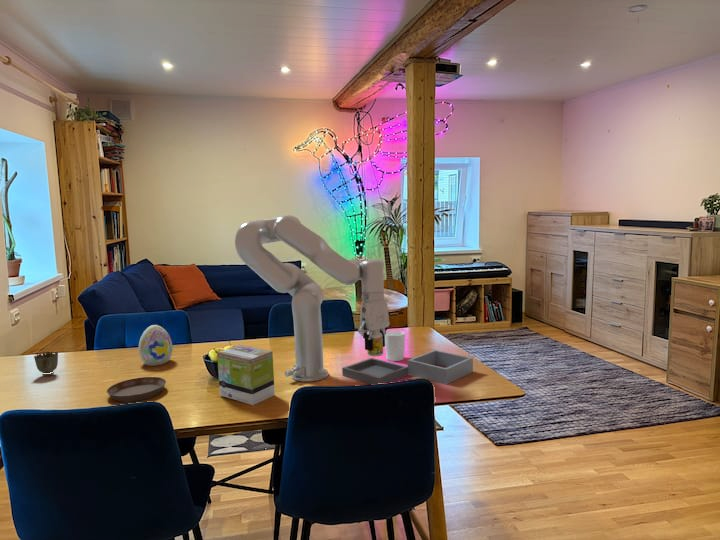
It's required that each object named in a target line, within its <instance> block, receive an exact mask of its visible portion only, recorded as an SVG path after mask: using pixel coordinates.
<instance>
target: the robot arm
mask: <svg viewBox="0 0 720 540" xmlns="http://www.w3.org/2000/svg"><path fill="white" fill-rule="evenodd" d="M234 237H235V239H234V245H235V246H234V247H235V250H236V253H237V255H238V257H239V258H240V259H241V261H242V262H243V263H244V264H245V265H246V266H248V268H250V269H251V270H252V271H253V272H254V273H255V274H257V275H258V276H259V277H260V278H261V279H262V280H263V281H264V282H265V283H267V284H268V285H269V286H270V287H271V288H272V289H273V290H275V291H276V292H277V293H281V294H286V293H288V294H289V295H290V296H291V297H292V298H291V299H292V300H291V310H292V317H293V318H292V319H293V331H294V332H293V333H294V351H295V355H294V356H295V364H293V365H292V366H293V368H291V369H288V370H285V371H284V376H285V377H286V378H287V377H291V378H292V379H293V380H295V381H298V382H304V383H305V382H306V383H307V382H308V383H309V382H311V383H312V382H316V381H321V380H324V379H326V378H327V377H328V376H329V371H328V370H327V368H324V348H323V346H324V345H323V327H322V325H323V324H322V322H323V321H322V312H321V309H322V308H321V304H322V303H323V300H324V297H325V296H324V291H323V289H322V287H321V286H320V285H319V284H318V283H317V282H316V281H315V280H314V279H312V278H311V277H310V276H309V275H308V274H307V273H306V272H304V271H303V270H302V269H301V268H300V267H299V266H297V265H295V264H294V263H289V262H282V261H281V260H279V259H278V258H277V257H276V256H275V255H274V254H273V253H271V252H270V251H269V250H268V249H266V248H265V247H264V246H263V245H264V244H270V243H277V242H283V243H284V244H286V245H287V246H289V247H291V248H292V249H293V250H294V251H296V252H297V253H299V254H301V255H302V256H304V257H305V258H306V259H308V260H309V261H310V262H311V263H313V264H314V265H315V266H316V267H318V268H319V269H320V270H322V271H323V272H324V273H325V274H327V275H328V276H330V277H332V278H333V279H335V281H337V282H339V283H341V284H343V285H346V286H351V285H354V284H355V283H357V281H359V280H360V281H361V296H360V298H361V305H360V315H359V316H360V325H359V327H358V329H357V332H358V334H360V335H361V337H362V339H364V349H365V350H366V351H368V350H369V351H373V339H371V337H372V332H373V331H377V330H380V333H382V337H383V348H385V335H386V332H387V330H388V328H389V326H390V324H391V322H390V319H389V318H390V316H389V315H390V314H389V308H388V307H389V306H388V301H387V300H386V298H385V281H384V280H385V279H384V262H383V261H382V260H380V259H367V260H359V259H347V258H346V257H343V256H342V255H340V254H339V253H338V252H337V251H335V250H334V249H333V248H332V247H331V246H330V245H329V244H328V242H327V241H326V240H325V239H324V238H323V237H322V236H320V235H319V234H317V233H316V232H315V231H313V230H312V229H310V228H309V227H307V226H306V225H304V224H302V222H301V221H300V220H299V218H298V217H296V216H294V215H290V214H289V215H288V214H287V215H282V216H278V217H273V218H267V219H258V220H257V219H256V220H252V221H247V222H244V223H242V224H241V225H240V226H239V227H238V229H237V231H236V234H235V236H234ZM368 333H369V334H368Z"/></svg>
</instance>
